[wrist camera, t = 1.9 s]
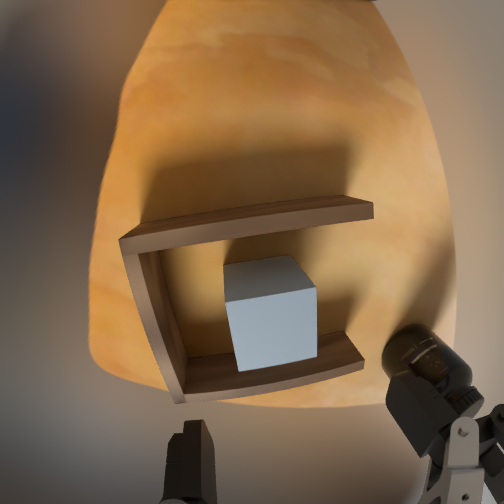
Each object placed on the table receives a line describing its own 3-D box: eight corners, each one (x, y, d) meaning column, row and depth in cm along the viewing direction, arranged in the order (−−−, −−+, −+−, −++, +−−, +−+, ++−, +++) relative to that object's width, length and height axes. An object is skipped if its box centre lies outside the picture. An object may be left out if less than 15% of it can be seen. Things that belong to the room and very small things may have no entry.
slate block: (223, 264, 20) (224, 302, 14) (289, 254, 20) (316, 286, 15) (233, 322, 21) (238, 371, 16) (294, 312, 22) (316, 356, 16)
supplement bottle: (404, 314, 24) (481, 385, 12) (436, 329, 25) (500, 387, 14) (367, 367, 25) (422, 449, 14) (403, 375, 27) (454, 441, 15)
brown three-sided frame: (139, 224, 18) (118, 239, 14) (342, 195, 19) (373, 202, 15) (180, 367, 22) (174, 403, 18) (342, 339, 23) (363, 368, 19)
